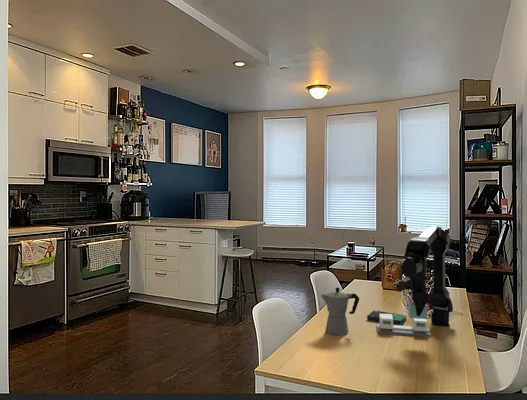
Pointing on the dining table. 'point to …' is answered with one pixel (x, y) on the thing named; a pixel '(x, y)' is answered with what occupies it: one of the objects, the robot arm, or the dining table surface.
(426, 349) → the dining table surface
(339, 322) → the coffeepot
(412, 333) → the din board
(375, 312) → the disk drive
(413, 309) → the block
